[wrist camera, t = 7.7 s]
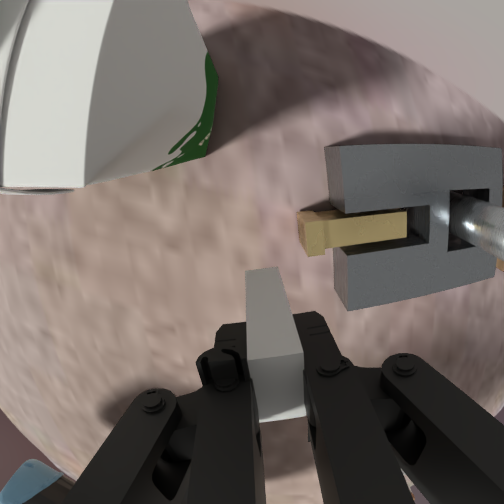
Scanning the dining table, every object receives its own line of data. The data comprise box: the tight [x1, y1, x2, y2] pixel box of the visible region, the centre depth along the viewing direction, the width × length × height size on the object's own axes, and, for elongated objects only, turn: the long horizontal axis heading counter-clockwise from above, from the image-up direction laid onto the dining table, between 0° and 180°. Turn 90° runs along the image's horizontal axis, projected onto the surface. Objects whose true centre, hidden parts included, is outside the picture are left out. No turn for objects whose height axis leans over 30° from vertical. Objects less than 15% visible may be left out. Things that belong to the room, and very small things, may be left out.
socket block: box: [324, 144, 503, 311], centre depth 21 cm, size 16×12×4 cm
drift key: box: [297, 208, 407, 257], centre depth 21 cm, size 8×2×4 cm, turn 98°
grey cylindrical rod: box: [449, 191, 504, 261], centre depth 16 cm, size 4×4×14 cm
